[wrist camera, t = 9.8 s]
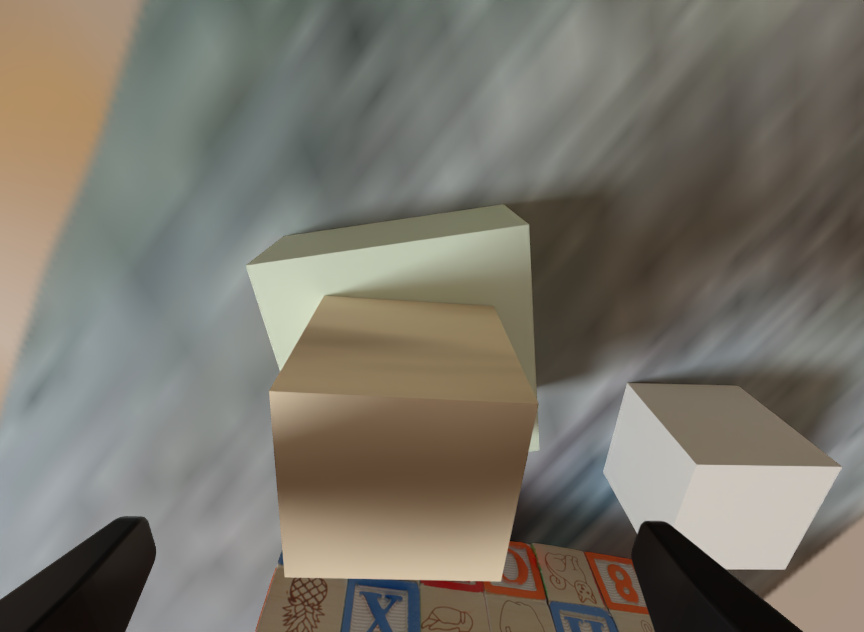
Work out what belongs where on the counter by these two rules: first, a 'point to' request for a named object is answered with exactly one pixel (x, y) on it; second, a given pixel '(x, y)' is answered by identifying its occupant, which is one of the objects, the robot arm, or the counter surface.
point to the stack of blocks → (470, 599)
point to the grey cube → (717, 471)
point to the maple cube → (400, 442)
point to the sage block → (404, 273)
